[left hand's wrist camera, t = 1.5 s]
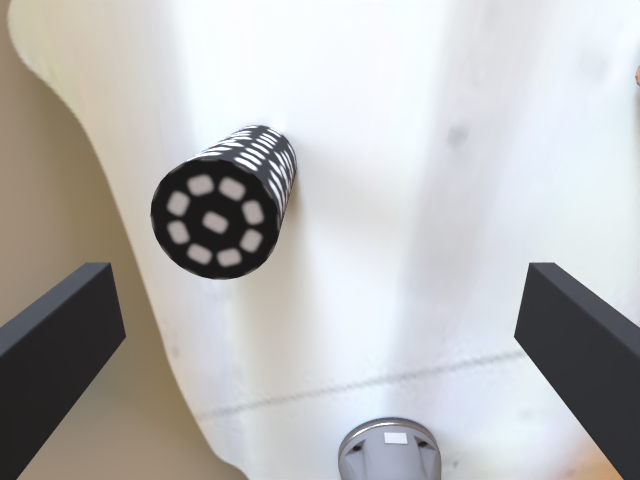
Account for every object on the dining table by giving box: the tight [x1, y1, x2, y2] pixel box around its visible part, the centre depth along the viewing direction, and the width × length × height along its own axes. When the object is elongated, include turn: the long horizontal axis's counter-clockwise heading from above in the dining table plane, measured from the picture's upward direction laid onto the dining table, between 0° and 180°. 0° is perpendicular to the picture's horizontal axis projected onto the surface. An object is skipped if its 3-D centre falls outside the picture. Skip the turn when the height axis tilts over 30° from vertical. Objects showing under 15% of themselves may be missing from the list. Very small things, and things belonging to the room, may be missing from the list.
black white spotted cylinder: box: [151, 125, 296, 280], centre depth 35 cm, size 8×8×20 cm
